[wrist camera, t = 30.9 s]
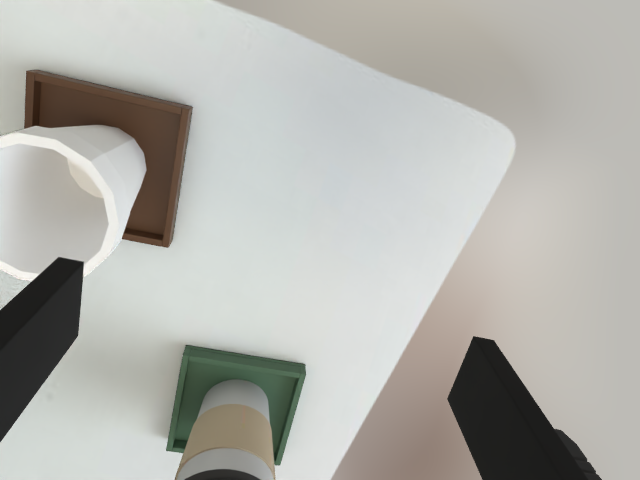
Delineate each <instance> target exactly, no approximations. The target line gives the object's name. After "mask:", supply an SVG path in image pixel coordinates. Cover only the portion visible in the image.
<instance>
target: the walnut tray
mask: <svg viewBox="0 0 640 480" xmlns="http://www.w3.org/2000/svg"><path fill="white" fill-rule="evenodd" d="M192 108H193V107H191V106H187V105H182V104H178V103H174V102H170V101H166V100H161V99H157V98H153V97H149V96H145V95H140V94H136V93H132V92H128V91H124V90H120V89H115V88H111V87H107V86H103V85H99V84H94V83H90V82H86V81H82V80H78V79H73V78H69V77H65V76H61V75H57V74H52V73H48V72H44V71H40V70H30V71H26V96H25V124H24V129H26V128H29V127H33V126H40V127H45V128H59V127H73V126H87V125H105V126H110V127H116V128H119V129H121V130H122V131H124V132H125V133H127V134H128V135H130V136H131V137H133V138H134V139H135V141H136V142H137V144H138V145H139V147H140V148H141V150H142V151H143V153H144V157H145V163H146V173H145V176H144V179H143V182H142V185H141V188H140V190H139V192H138V195H137V197H136V199H135V202H134V204H133V206H132V209H131V211H130V215H129V218H128V221H127V224H126V227H125V230H124V233H123V236H122V239H125V240H130V241H135V242H140V243H146V244H151V245H156V246H162V247H167V248H168V247H169V246H170V244H171V242H172V240H173V233H174V227H175V220H176V214H177V207H178V200H179V194H180V187H181V181H182V174H183V168H184V161H185V154H186V148H187V141H188V135H189V128H190V122H191V115H192Z"/></svg>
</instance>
